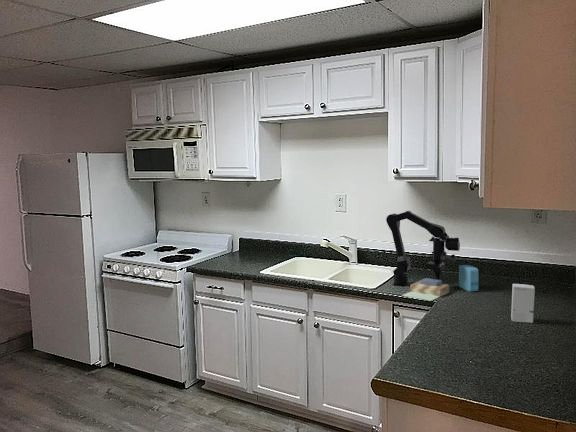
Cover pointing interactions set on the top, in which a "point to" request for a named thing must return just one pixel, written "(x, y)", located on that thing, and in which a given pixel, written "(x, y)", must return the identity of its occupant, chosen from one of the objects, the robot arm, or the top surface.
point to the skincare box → (522, 303)
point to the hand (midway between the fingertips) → (438, 278)
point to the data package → (468, 278)
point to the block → (431, 282)
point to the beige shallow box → (429, 289)
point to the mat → (420, 296)
